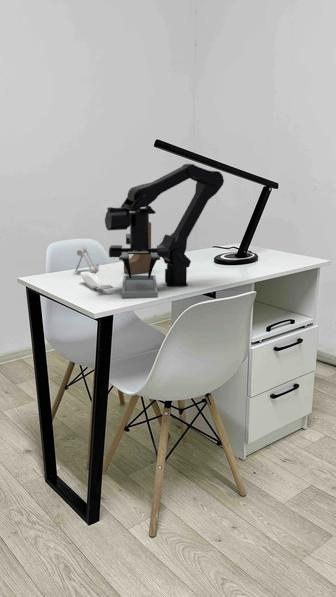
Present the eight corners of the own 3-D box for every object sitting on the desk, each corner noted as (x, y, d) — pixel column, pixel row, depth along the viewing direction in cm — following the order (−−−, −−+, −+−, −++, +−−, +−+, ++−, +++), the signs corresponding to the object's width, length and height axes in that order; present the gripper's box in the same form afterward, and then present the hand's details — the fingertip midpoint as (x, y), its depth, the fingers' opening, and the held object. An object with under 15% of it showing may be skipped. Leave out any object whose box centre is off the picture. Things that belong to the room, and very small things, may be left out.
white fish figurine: (92, 281, 186) (92, 269, 185) (113, 293, 171) (113, 281, 170) (76, 283, 184) (76, 271, 183) (97, 295, 169) (96, 283, 168)
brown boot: (129, 275, 196) (129, 223, 191) (123, 272, 199) (122, 222, 195) (151, 272, 201) (151, 222, 196) (145, 269, 204) (145, 220, 199)
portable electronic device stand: (96, 273, 198) (95, 250, 196) (74, 273, 198) (73, 250, 196) (99, 268, 207) (98, 246, 204) (77, 268, 207) (77, 245, 204)
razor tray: (155, 281, 188) (155, 275, 187) (157, 298, 166) (157, 292, 165) (123, 281, 187) (123, 275, 187) (121, 298, 165) (121, 292, 165)
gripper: (168, 225, 180) (167, 272, 184) (110, 225, 179) (111, 272, 183) (170, 230, 169) (169, 280, 173) (108, 230, 168) (109, 280, 172)
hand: (139, 278), depth 176 cm, fingers open, 5 cm apart
